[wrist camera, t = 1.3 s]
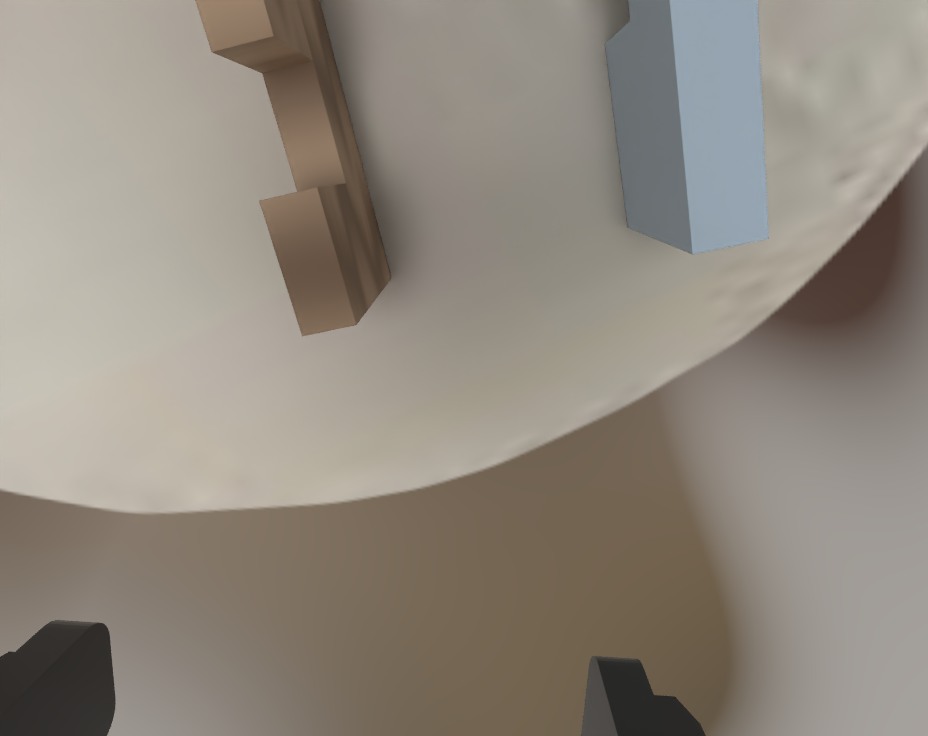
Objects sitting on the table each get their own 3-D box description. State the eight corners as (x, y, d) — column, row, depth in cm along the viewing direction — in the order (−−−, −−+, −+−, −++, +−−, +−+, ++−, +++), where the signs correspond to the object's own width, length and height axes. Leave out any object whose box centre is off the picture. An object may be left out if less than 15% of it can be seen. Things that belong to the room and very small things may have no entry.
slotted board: (231, -146, 24) (94, -318, 15) (278, -159, 24) (166, -341, 15) (352, 286, 29) (302, 336, 21) (391, 278, 29) (356, 324, 21)
